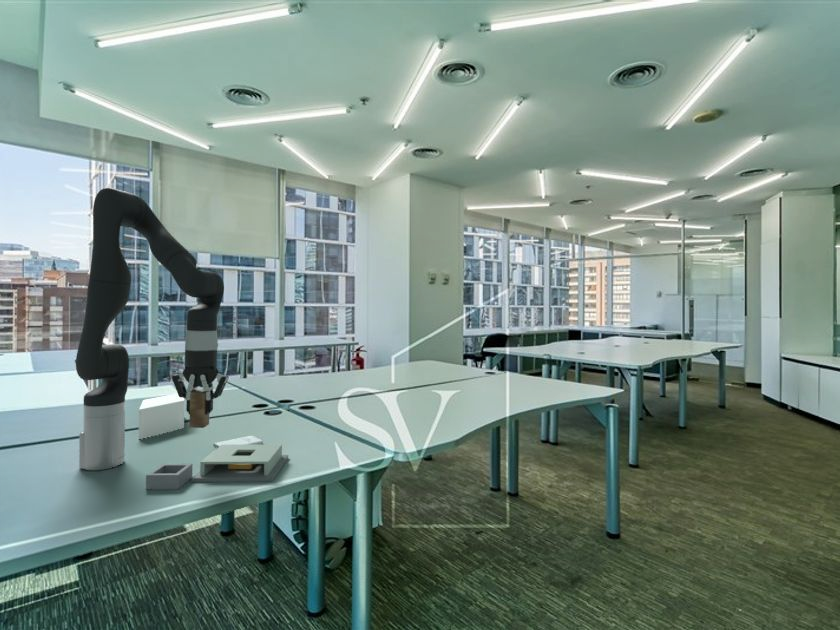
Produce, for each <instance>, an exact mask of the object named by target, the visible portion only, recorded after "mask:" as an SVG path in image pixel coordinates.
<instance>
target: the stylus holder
mask: <svg viewBox="0 0 840 630" xmlns="http://www.w3.org/2000/svg"><path fill="white" fill-rule="evenodd" d="M192 477H193V463H162V464H160V465H158V466H157V467H156V468H155V469H153V470H151V471H150V472H149V473H147V474H146V475H145V490H146V489H149V490H150V489H152V490H179V489H180V488H182V487H183V486H184V485H185V484H186V483H188V482H189V481H190V479H191V480H192Z"/></svg>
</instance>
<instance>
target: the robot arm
mask: <svg viewBox="0 0 840 630" xmlns="http://www.w3.org/2000/svg"><path fill="white" fill-rule="evenodd" d="M92 206H93V207H92V208H93V209H92V220H93V221H92V240H93V241H92V248H91V249H92V252H91V263H90V271H89V276H88V283H87V284H88V285H87V294H86V295H87V297H86V305H85V313H84V319H83V326H82V330H81V334H80V338H79V343H78V346H77V347H78V348H77V351H76V357H75V369H76V374H77V375H78V377H79V378H80V379H81V380H83V381H95V380H103V381H102V382H101V383H100V384H99V385H98V386H97V387H95V388H94V389H92V390H90V391H88V392H86V393H85V394H84V395H83V431H82V432H80V433H79V436H78V437H79V444H78V445H79V450H78V452H79V453H78V454H79V455H78V457H79V459H78V462H79V463H78V464H79V465H78V467H79V469H83V470H86V471H103V470H107V469H112V467H113V468H116V467H118V465H119V466H121V465H122V464H124V463H125V455H126V454H125V446H126V445H125V442H126V441H125V440H126V439H125V437H126V436H125V435H126V434H125V433H126V431H125V430H126V428H125V427H126V426H125V425H126V424H125V423H126V394H127V392H128V386H129V370H130V369H129V368H130V356H129V353H128V350H127V349H126V347H125V346H123V345H122V344H117V343H116V344H113V343H112V344H103V343H104V339H105V336H106V332H107V331H108V328H109V327H110V325H111V324H112V322H113V321H114V320H115V319H116V318H117V317H118V316H119V314H120V313H121V312H122V310H123V309H124V308H125V306H126V305H127V304H128V302H129V299H130V293H131V287H132V274H131V271H130V267H129V265H128V263H127V261H126V259H125V257H124V255H123V252H122V249H121V245H120V233H121V232H120V231H121V227H123V228H124V227H126V228H131V229H133V230H135V231H136V232H138V233H139V234H141V235H142V236H143V237H144V238H145V239H146V240H147V242H148V245H149V249H150V252H151V253H152V255H153V257H154V259H156V261H157V262H159V263H160V265H162V267H164V268H165V269H166V270H167V271H168V272H169V273H170V274H171V275H172V277H173V279H174V281H175V282H176V284H177V286H178V287H179V289H180V291H182V292H183V293H184V294H186V295H187V296H189V297H191V298H195V299H196V298H197V299H198V300H197V302H196V303H197V304H196V305H195V306H193V307H191V308H189V309H188V310H187V312H186V313H187V314H186V315H187V316H186V333H185V339H184V370H183V371H182V373H177V374H174V375H172V376H171V380H172V383H173V385H174V388H175V390H176V392H177V393H176V394H178V395H179V397H183V398H184V400H186V404H185V405H186V408H185V411H186V412H187V413H188V415H190V393H191V392H193V391H196V390H198V388H202V390H203V391H204V392H205V397H206V401H205V415H208V414H209V415H210V414H211V413H212V412H213V410H214V399H217V398H218V397H221V396H222V393H224V389H225V387H226V385H227V382H228V380H229V375H227V374H226V375H225V374H221V373H220V372H219V370H218V367H217V366H218V347H219V343H218V342H219V341H218V340H219V339H218V331H217V330H218V313H219V310H220V308H221V304H222V301H223V297H224V291H225V284H224V280H223V278H222V277H221V276H220V274H219V273H217V272H215V271H209V270H201V269H199V268H197V265H198V264H197V260H196V258H195V256H194V255H193V254H192V253H191V252H190V251H188V249H187V248H186V247H184V246H183V245H182V244H181V243H180V242H179V241H178V240H177V239H176V238H175V237H174V236H173V235H172V234H171V232H169V231H168V229H167V228H166V227H165V225H164V224H163V223H162V221H161V220H160V219H159V218H158V216H157V215H156V214H155V213H154V211H153V209H152V208H151V207H150V206H149V205H148V203H147V202H146V201H145V200H144V199H143V198H142V197H141V196H139V195H137V194H135V193H132V192H128V191H124V190H120V189H117V188H113V187H104V188H101V189H100V190H99V191H98V192H97V193H96V195H95V198H94V202H93V205H92ZM216 379H217V380H216ZM185 380H186V381H187V383H188V385H187V388H186V385H185V383H184V381H185ZM215 380H216V381H217V382H216V383H218V384H217V386H216V388H215V390H214V385H213V384H214V383H213V382H214V381H215ZM123 462H124V463H123ZM120 464H121V465H120Z"/></svg>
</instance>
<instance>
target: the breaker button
mask: <svg viewBox="0 0 840 630" xmlns="http://www.w3.org/2000/svg"><path fill="white" fill-rule="evenodd" d="M254 465H255V464H228V469H252V468H253V466H254Z"/></svg>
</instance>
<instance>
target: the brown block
mask: <svg viewBox="0 0 840 630" xmlns="http://www.w3.org/2000/svg"><path fill="white" fill-rule="evenodd" d="M205 401H206V397H205V392H204V391H203V389H197V390H196V391H193V392H191V393H190V414H189V421H188V422H189V425H188V426H189V429H191V428H192V429H204V428H205V427H207V426H209V425H210V414H208V415H205Z"/></svg>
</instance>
